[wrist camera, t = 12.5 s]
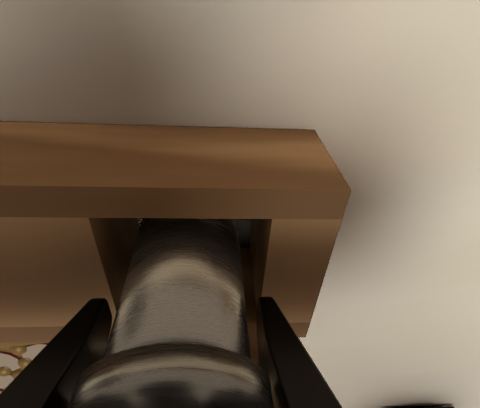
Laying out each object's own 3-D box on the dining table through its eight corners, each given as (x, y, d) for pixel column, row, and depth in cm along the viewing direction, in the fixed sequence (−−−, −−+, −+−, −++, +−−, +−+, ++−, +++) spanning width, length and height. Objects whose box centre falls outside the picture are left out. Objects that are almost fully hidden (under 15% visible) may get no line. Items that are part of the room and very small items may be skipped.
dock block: (288, 262, 16) (318, 390, 11) (16, 263, 15) (-84, 403, 10) (314, 129, 12) (382, 242, 7) (-61, 119, 11) (-297, 240, 6)
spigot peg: (242, 245, 15) (266, 460, 8) (145, 247, 14) (90, 474, 8) (247, 161, 12) (289, 381, 6) (129, 161, 12) (26, 396, 5)
